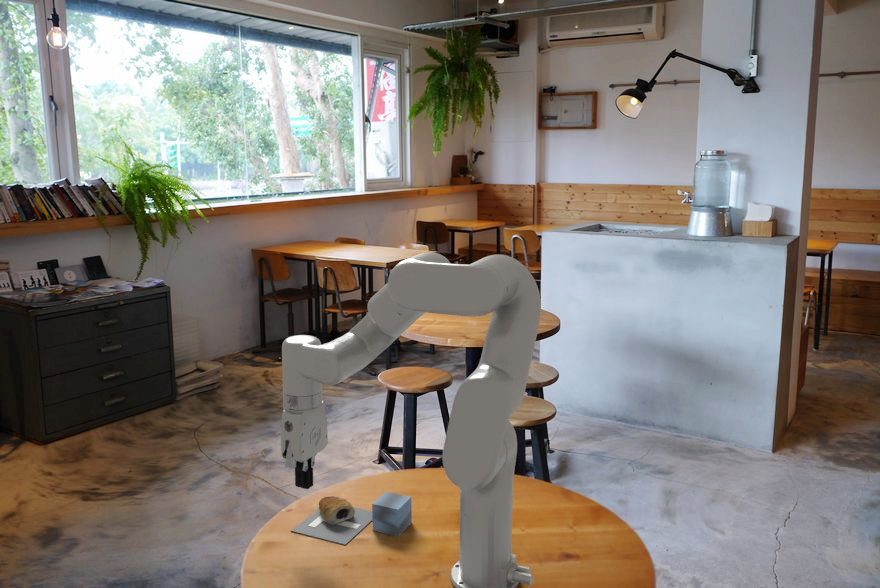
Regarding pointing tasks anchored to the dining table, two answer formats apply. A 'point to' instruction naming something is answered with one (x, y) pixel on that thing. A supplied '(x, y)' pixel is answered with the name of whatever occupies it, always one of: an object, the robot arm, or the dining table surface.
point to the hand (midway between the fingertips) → (304, 486)
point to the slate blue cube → (391, 513)
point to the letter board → (334, 527)
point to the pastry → (335, 509)
